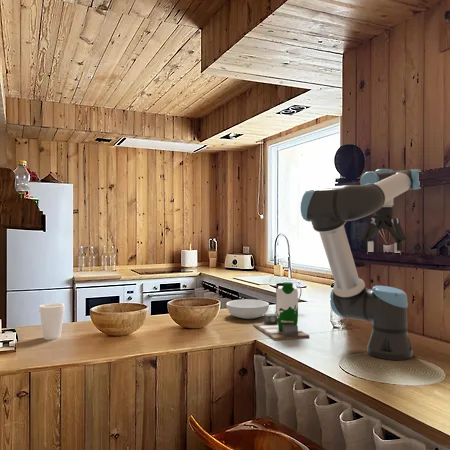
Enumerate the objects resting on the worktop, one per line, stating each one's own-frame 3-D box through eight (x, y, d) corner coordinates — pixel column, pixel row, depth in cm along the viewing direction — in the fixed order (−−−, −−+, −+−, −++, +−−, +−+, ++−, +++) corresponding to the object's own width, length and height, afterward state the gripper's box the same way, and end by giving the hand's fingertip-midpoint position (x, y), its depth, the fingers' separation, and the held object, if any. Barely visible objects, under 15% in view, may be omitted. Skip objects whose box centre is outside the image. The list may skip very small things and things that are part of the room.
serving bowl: (219, 314, 225) (219, 301, 225) (256, 311, 233) (256, 298, 233) (237, 323, 206) (237, 308, 206) (277, 319, 215) (277, 305, 215)
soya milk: (277, 332, 184) (277, 283, 184) (276, 327, 193) (276, 280, 193) (298, 332, 183) (298, 284, 183) (297, 327, 192) (297, 281, 192)
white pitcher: (272, 312, 231) (272, 283, 231) (297, 310, 235) (297, 282, 235) (279, 315, 222) (279, 285, 222) (305, 314, 227) (305, 284, 227)
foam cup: (55, 341, 175) (55, 307, 175) (34, 339, 177) (34, 306, 177) (69, 335, 184) (69, 303, 184) (48, 334, 186) (48, 302, 186)
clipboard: (309, 337, 181) (309, 325, 181) (274, 340, 177) (274, 327, 177) (284, 323, 205) (284, 313, 205) (253, 325, 201) (253, 314, 201)
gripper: (416, 206, 178) (415, 259, 178) (366, 207, 199) (366, 255, 200) (403, 205, 174) (403, 260, 174) (354, 207, 196) (354, 256, 196)
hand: (383, 257), depth 187 cm, fingers open, 13 cm apart
